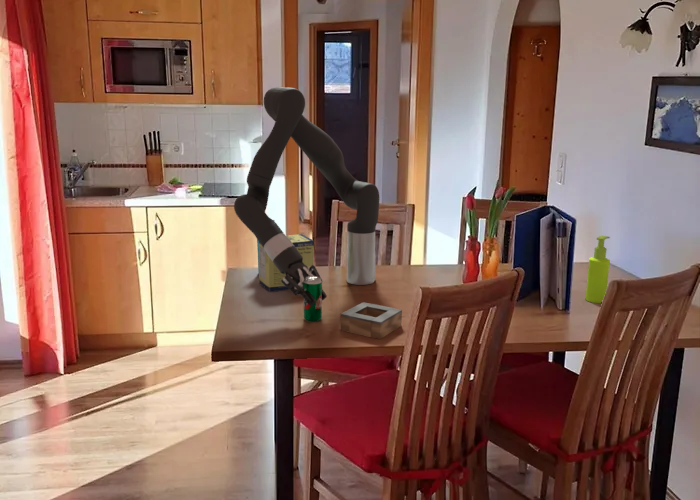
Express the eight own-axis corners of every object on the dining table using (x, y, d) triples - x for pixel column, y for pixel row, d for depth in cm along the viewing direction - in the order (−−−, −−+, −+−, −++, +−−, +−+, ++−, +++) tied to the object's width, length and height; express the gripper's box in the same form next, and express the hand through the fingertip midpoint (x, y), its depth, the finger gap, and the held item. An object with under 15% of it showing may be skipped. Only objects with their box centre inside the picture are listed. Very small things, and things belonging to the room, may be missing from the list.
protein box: (314, 286, 221) (314, 239, 218) (269, 292, 215) (268, 244, 211) (302, 278, 231) (302, 233, 227) (258, 283, 224) (257, 237, 220)
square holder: (363, 317, 192) (363, 302, 191) (401, 325, 186) (402, 309, 185) (340, 330, 182) (340, 313, 181) (380, 339, 176) (380, 322, 175)
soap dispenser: (609, 299, 212) (616, 236, 207) (600, 304, 207) (607, 240, 202) (591, 295, 216) (597, 233, 211) (582, 300, 211) (588, 236, 206)
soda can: (319, 323, 188) (319, 281, 185) (301, 321, 188) (301, 280, 186) (323, 317, 192) (323, 276, 189) (306, 315, 193) (306, 275, 190)
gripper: (275, 250, 183) (312, 300, 180) (305, 240, 195) (340, 287, 192) (259, 266, 187) (296, 316, 184) (290, 255, 199) (325, 302, 196)
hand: (318, 301), depth 188 cm, fingers closed on soda can, 4 cm apart
